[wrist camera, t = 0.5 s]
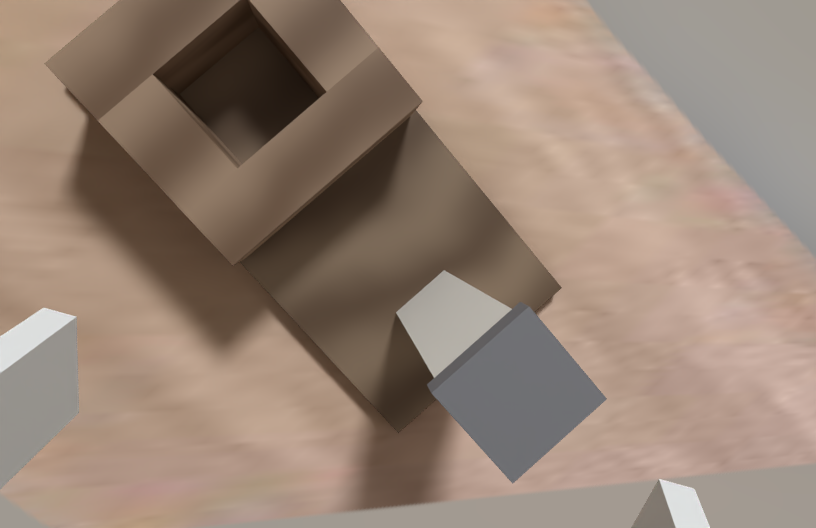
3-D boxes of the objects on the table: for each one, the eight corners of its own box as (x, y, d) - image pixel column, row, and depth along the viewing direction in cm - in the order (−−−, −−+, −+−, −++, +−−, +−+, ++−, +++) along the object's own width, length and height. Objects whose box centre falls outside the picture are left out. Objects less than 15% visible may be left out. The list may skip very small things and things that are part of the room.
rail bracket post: (389, 312, 36) (431, 393, 20) (444, 263, 36) (529, 306, 20) (436, 365, 37) (512, 483, 21) (490, 317, 37) (606, 399, 21)
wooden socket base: (69, 74, 33) (12, 45, 28) (253, -82, 34) (236, -143, 28) (396, 427, 38) (408, 467, 32) (555, 285, 38) (596, 300, 32)
